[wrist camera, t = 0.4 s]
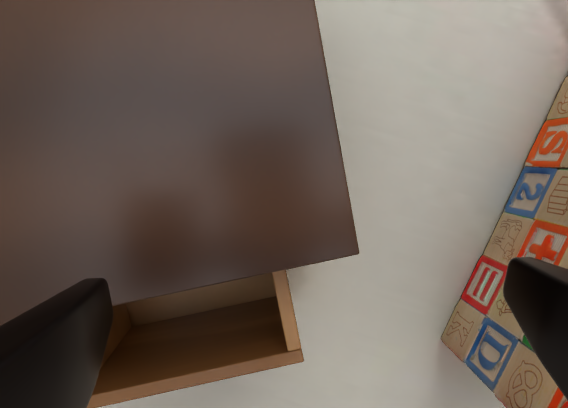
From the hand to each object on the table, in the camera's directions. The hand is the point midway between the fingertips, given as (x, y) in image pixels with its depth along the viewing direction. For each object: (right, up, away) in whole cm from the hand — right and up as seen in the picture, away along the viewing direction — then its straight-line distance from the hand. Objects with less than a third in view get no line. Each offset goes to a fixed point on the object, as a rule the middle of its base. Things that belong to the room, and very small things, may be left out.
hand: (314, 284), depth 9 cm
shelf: (-7, +6, +15) cm, 18 cm away
